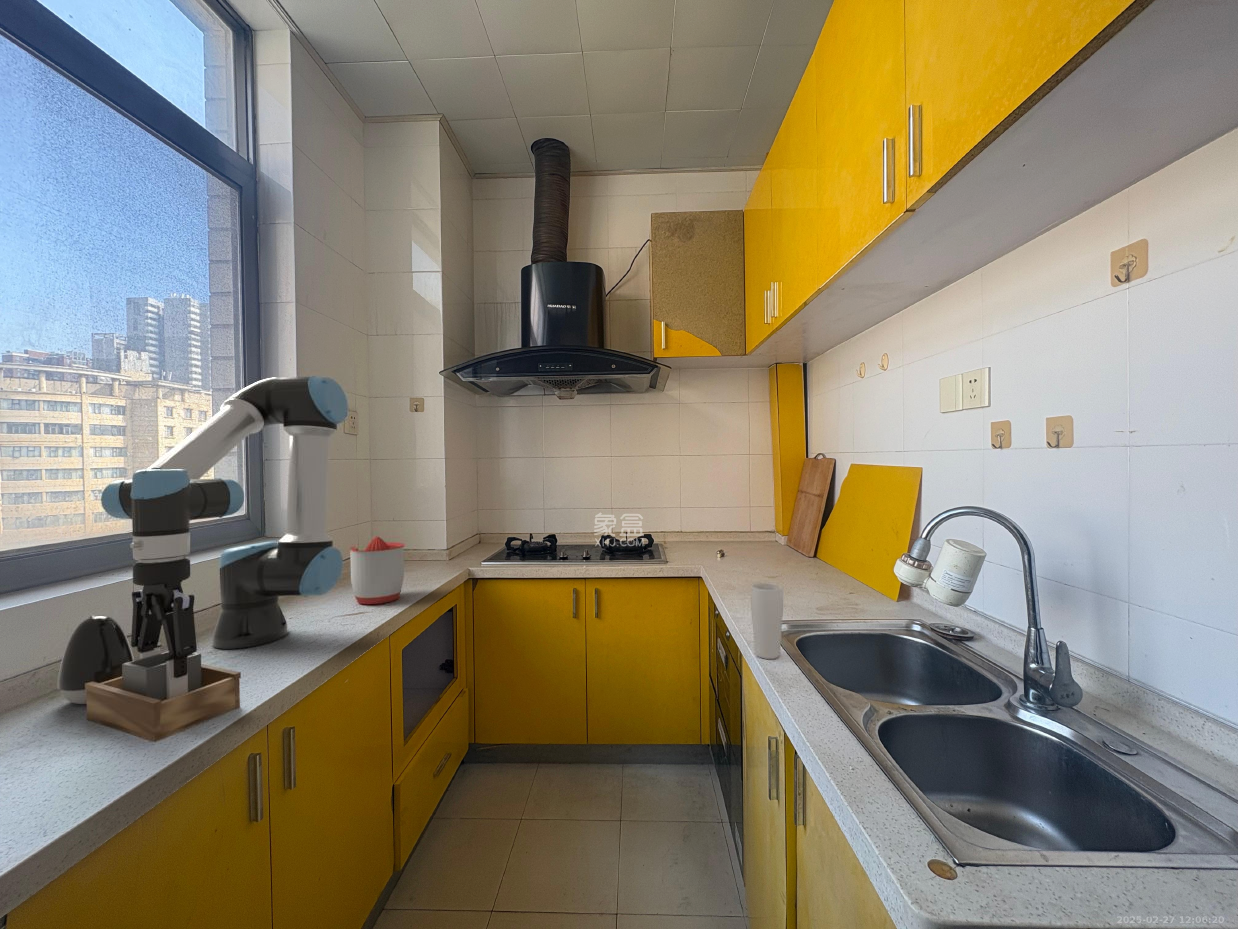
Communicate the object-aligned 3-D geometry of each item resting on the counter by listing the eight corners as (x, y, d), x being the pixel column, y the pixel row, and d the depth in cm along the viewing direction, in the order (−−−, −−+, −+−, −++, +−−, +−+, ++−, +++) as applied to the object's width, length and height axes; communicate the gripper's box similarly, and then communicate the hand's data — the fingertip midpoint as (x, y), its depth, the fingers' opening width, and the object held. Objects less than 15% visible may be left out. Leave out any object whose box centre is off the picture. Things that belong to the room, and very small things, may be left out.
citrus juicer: (377, 591, 176) (376, 531, 176) (416, 596, 169) (415, 534, 169) (334, 603, 162) (333, 538, 162) (375, 609, 155) (374, 541, 154)
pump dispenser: (130, 681, 105) (128, 605, 105) (140, 695, 99) (138, 614, 99) (55, 700, 97) (53, 617, 97) (61, 716, 91) (59, 628, 91)
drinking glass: (774, 664, 110) (774, 591, 110) (745, 656, 114) (744, 586, 114) (789, 655, 115) (788, 585, 115) (760, 647, 119) (759, 581, 119)
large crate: (173, 689, 101) (173, 657, 101) (241, 706, 94) (240, 672, 94) (85, 719, 90) (84, 683, 90) (154, 742, 82) (153, 703, 82)
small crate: (177, 682, 96) (177, 648, 96) (201, 687, 94) (201, 653, 94) (122, 699, 89) (122, 663, 89) (146, 706, 86) (146, 669, 86)
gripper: (102, 559, 92) (104, 691, 92) (171, 566, 84) (173, 711, 84) (154, 552, 99) (156, 675, 99) (222, 558, 91) (224, 692, 91)
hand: (163, 691), depth 91 cm, fingers closed on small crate, 7 cm apart
